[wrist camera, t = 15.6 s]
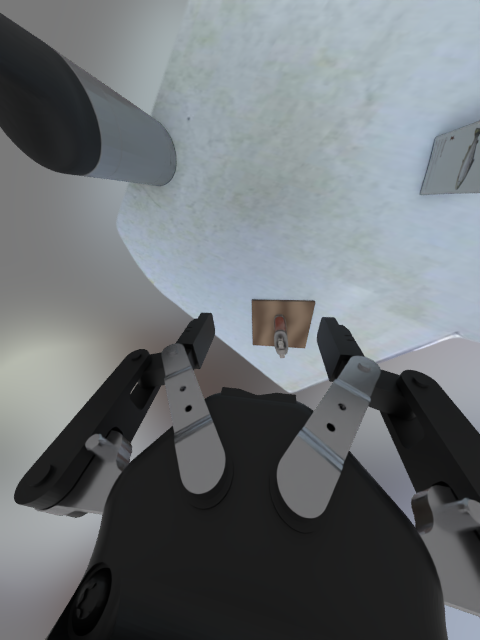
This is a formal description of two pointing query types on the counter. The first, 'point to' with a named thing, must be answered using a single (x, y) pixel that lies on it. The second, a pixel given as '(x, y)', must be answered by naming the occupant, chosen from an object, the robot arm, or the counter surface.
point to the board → (295, 317)
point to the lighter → (280, 335)
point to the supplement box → (455, 163)
